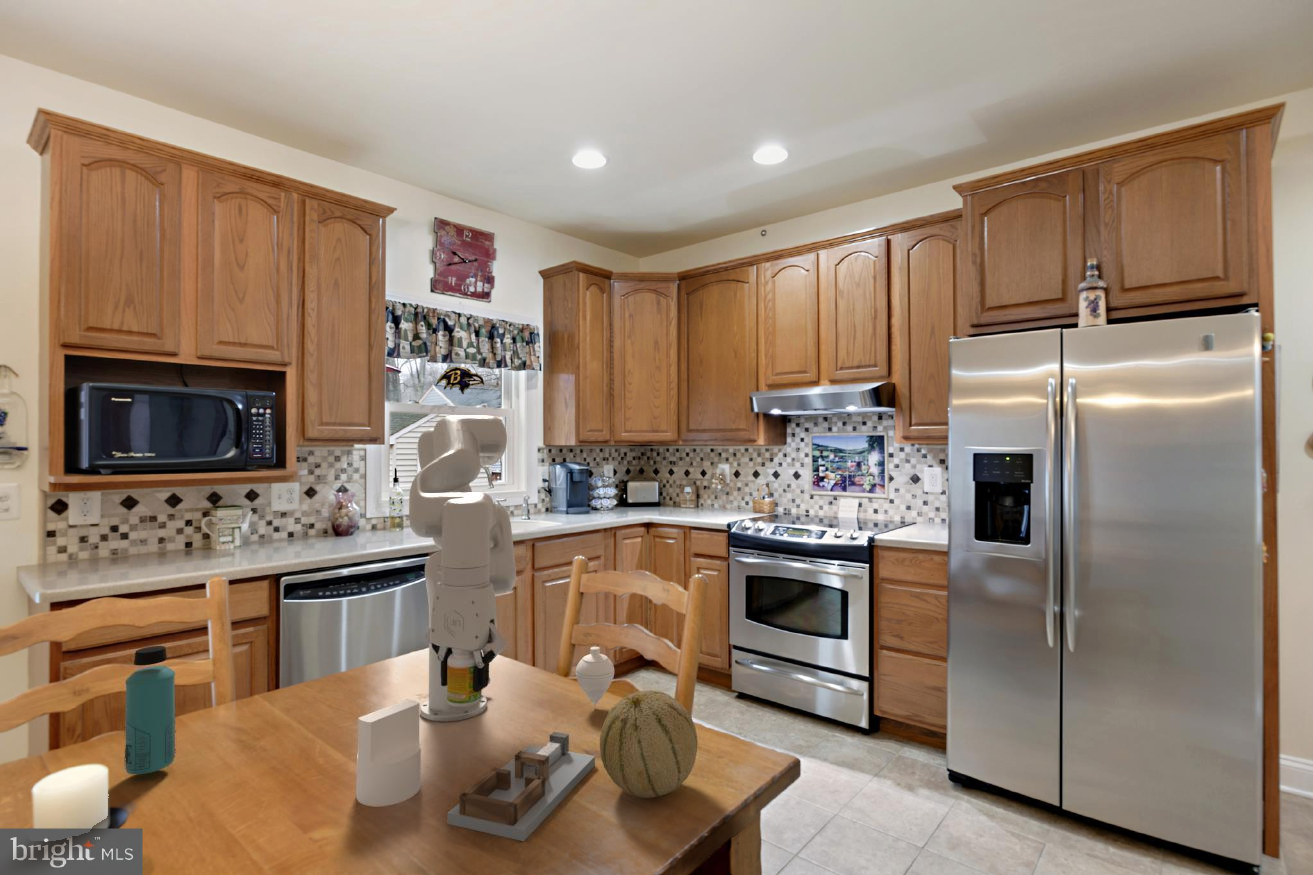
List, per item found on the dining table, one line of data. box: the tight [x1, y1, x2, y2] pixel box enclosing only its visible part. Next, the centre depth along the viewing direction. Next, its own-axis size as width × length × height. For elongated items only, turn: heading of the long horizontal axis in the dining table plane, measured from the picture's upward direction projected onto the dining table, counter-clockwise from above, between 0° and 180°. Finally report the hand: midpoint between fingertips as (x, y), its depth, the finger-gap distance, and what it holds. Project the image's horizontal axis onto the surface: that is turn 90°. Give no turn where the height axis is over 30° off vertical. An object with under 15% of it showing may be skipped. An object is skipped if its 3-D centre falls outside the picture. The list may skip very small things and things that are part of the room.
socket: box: [458, 767, 545, 826], centre depth 92 cm, size 8×8×2 cm
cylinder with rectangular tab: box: [355, 699, 422, 808], centre depth 99 cm, size 9×9×12 cm
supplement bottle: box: [447, 648, 483, 707], centre depth 106 cm, size 5×5×10 cm
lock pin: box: [523, 731, 570, 778], centre depth 104 cm, size 10×3×3 cm, turn 160°
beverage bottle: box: [123, 645, 177, 775], centre depth 104 cm, size 6×7×20 cm
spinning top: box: [575, 646, 615, 709], centre depth 130 cm, size 8×8×12 cm
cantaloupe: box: [599, 689, 699, 799], centre depth 99 cm, size 15×15×15 cm
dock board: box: [446, 744, 596, 842], centre depth 98 cm, size 22×12×5 cm, turn 160°
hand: (464, 684), depth 106 cm, fingers closed on supplement bottle, 5 cm apart
